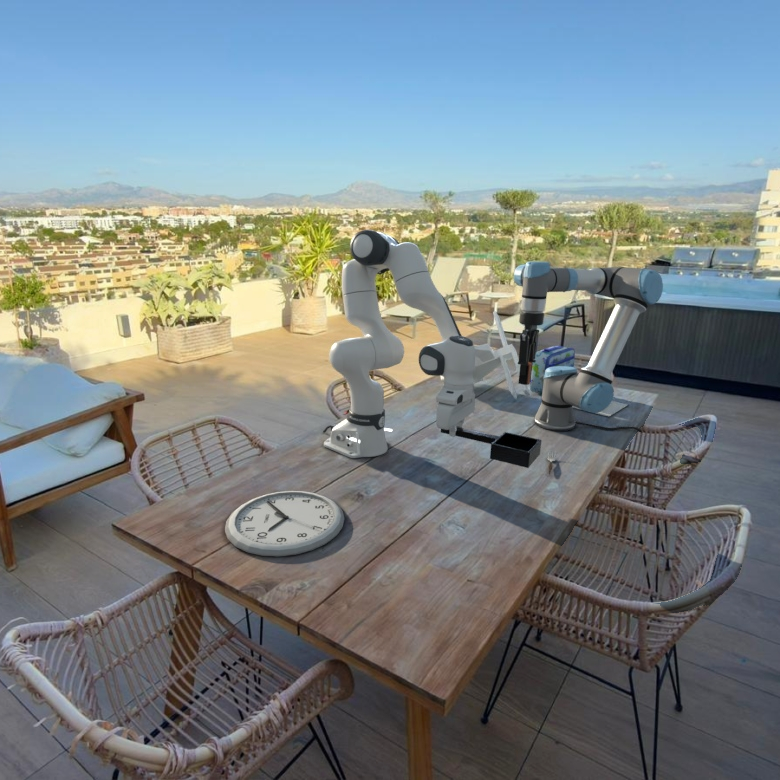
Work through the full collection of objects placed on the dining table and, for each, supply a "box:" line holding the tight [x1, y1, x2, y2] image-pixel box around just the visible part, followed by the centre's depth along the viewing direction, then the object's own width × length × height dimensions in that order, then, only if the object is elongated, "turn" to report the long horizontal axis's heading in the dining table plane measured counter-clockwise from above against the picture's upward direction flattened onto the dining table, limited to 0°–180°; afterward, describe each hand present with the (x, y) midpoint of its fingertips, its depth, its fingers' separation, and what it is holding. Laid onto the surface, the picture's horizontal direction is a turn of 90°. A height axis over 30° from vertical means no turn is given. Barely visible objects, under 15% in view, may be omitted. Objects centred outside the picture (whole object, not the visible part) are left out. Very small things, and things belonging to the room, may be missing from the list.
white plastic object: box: [440, 310, 531, 400], centre depth 245 cm, size 37×45×31 cm
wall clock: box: [224, 490, 345, 557], centre depth 134 cm, size 30×2×30 cm
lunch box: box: [529, 345, 576, 394], centre depth 244 cm, size 26×11×21 cm, turn 135°
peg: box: [523, 362, 532, 386], centre depth 171 cm, size 3×3×7 cm
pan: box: [440, 427, 542, 469], centre depth 155 cm, size 29×11×5 cm, turn 58°
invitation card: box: [573, 400, 629, 418], centre depth 226 cm, size 21×1×15 cm
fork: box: [547, 449, 557, 475], centre depth 169 cm, size 3×16×2 cm, turn 160°
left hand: (455, 434), depth 160 cm, fingers closed on pan, 2 cm apart
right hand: (524, 382), depth 172 cm, fingers closed on peg, 3 cm apart
